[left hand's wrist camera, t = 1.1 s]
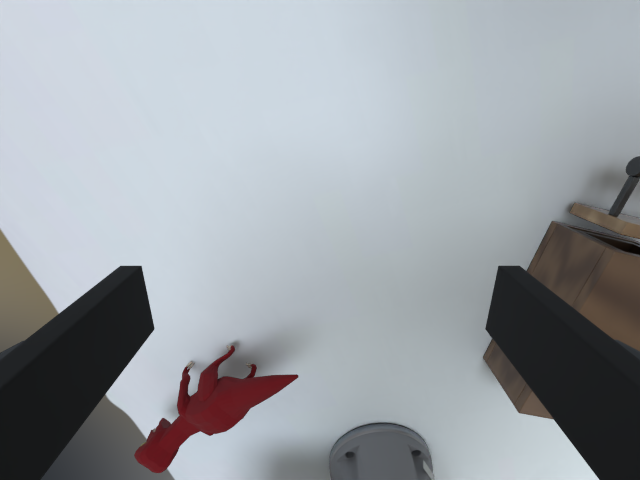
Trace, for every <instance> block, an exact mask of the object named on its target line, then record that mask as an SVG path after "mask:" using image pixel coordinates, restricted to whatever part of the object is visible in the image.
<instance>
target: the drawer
mask: <svg viewBox="0 0 640 480" xmlns="http://www.w3.org/2000/svg"><path fill="white" fill-rule="evenodd" d="M626 173H627V174H628V175H630V176H629V177H628V179H627V181H626V183H625V184H624V186H623V188H622V190H621V192H620V193H619V195H618V197H617V199H616V200H615V202H614V204H613V206H612V208H611V209H610V211H608V210H604V209H600V208H596V207H591V206H587V205H583V204H579V203H574V205H573V207H572V209H571V211H570V213H571V214H573V215H576V216H578V217H580V218H583V219H585V220H588V221H590V222H592V223H595V224H597V225H599V226H602V227H604V228H607V229H609V230H611V231H614V232H616V233H618V234H621V235H625V236H629V237H634V238H638V239H640V218H637V217H633V216H629V215H624V214H620V212H621V211H622V209H623V207H624V205H625V204H626V202H627V200H628V198H629V197H630V195H631V193H632V191H633V190H634V188H635V186H636V185H637V183H638V181H639V179H640V156H639V157H635V158H633V159H632V160H631V161H630V162H629V163H628V164H627V166H626ZM574 230H576V231H578V232H580V233H582V234H584V235H587V236H589V237H591V238H593V239H595V240H597V241H599V242H601V243H603V244H605V245H607V246H610V247H612V248H614V249H616V250H620V251H624V252H628V253H633V254H637V255H640V246H639V245H637V244H635V243H632V242H628V241H623V240H619V239H615V238H611V237H606V236H602V235H598V234H594V233H589V232H585V231H581V230H577V229H574Z"/></svg>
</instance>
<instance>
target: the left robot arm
mask: <svg viewBox="0 0 640 480" xmlns="http://www.w3.org/2000/svg"><path fill="white" fill-rule="evenodd" d="M153 330H154V324H153V319H152V315H151V310H150V305H149V300H148V295H147V291H146V286H145V281H144V276H143V271H142V266H120V267H119V268H117V269H116V270H115V271H113V272H112V273H111V274H110V275H108V276H107V277H106V278H104V279H103V280H102V281H101V282H99V283H98V284H97V285H95V286H94V287H93V288H92V289H90V290H89V291H88V292H87V293H85V294H84V295H83V296H81V297H80V298H79V299H78V300H76V301H75V302H74V303H72V304H71V305H70V306H69V307H67V308H66V309H65V310H63V311H62V312H61V313H60V314H58V315H57V316H56V317H54V318H53V319H52V320H51V321H49V322H48V323H47V324H45V325H44V326H43V327H42V328H40V329H39V330H38V331H37V332H35V333H34V334H33V335H31V336H30V337H29V338H28V339H26V340H25V341H22V342H20V343H18V344H16V345H14V346H12V347H11V348H9V349H7V350H5V351H3V352H1V353H0V480H41V478H42V477H43V476H44V474H45V473H46V472H47V470H48V469H49V468H50V466H51V465H52V464H53V462H54V461H55V460H56V458H57V457H58V456H59V454H60V453H61V452H62V450H63V449H64V448H65V447H66V445H67V444H68V443H69V441H70V440H71V439H72V437H73V436H74V435H75V433H76V432H77V431H78V429H79V428H80V427H81V425H82V424H83V423H84V421H85V420H86V419H87V417H88V416H89V415H90V413H91V412H92V411H93V410H94V408H95V407H96V406H97V404H98V403H99V402H100V400H101V399H102V398H103V396H104V395H105V394H106V392H107V391H108V390H109V388H110V387H111V386H112V384H113V383H114V382H115V380H116V379H117V378H118V377H119V375H120V374H121V373H122V371H123V370H124V369H125V367H126V366H127V365H128V363H129V362H130V361H131V359H132V358H133V357H134V355H135V354H136V353H137V351H138V350H139V349H140V347H141V346H142V345H143V343H144V342H145V341H146V340H147V338H148V337H149V336H150V334H151V333H152V332H153ZM486 330H487V332H488V333H489V334H490V336H491V337H492V338H493V340H494V341H495V342H496V343H497V345H498V346H499V347H500V349H501V350H502V351H503V353H504V354H505V355H506V357H507V358H508V359H509V361H510V362H511V363H512V365H513V366H514V367H515V369H516V370H517V371H518V373H519V374H520V375H521V377H522V378H523V379H524V380H525V382H526V383H527V384H528V386H529V387H530V388H531V390H532V391H533V392H534V394H535V395H536V396H537V398H538V399H539V400H540V402H541V403H542V404H543V406H544V407H545V408H546V410H547V411H548V412H549V414H550V415H551V416H552V417H553V419H554V420H555V421H556V423H557V424H558V425H559V427H560V428H561V429H562V431H563V432H564V433H565V435H566V436H567V437H568V439H569V440H570V441H571V443H572V444H573V445H574V447H575V448H576V449H577V450H578V452H579V453H580V454H581V456H582V457H583V458H584V460H585V461H586V462H587V464H588V465H589V466H590V468H591V469H592V470H593V472H594V473H595V474H596V476H597V477H598V478H599V480H640V351H638V350H636V349H634V348H632V347H631V346H629V345H627V344H625V343H623V342H621V341H619V340H614V339H612V338H611V337H610V336H609V335H607V334H606V333H605V332H603V331H602V330H601V329H600V328H598V327H597V326H596V325H595V324H593V323H592V322H591V321H589V320H588V319H587V318H586V317H584V316H583V315H582V314H580V313H579V312H578V311H577V310H575V309H574V308H573V307H571V306H570V305H569V304H568V303H566V302H565V301H564V300H562V299H561V298H560V297H559V296H557V295H556V294H555V293H553V292H552V291H551V290H550V289H548V288H547V287H546V286H545V285H543V284H542V283H541V282H539V281H538V280H537V279H536V278H534V277H533V276H532V275H530V274H529V273H528V272H527V271H525V270H524V269H523V268H521V267H520V266H498V271H497V276H496V281H495V286H494V291H493V295H492V300H491V305H490V310H489V315H488V319H487V324H486ZM330 474H331V480H434V474H433V467H432V460H431V456H430V453H429V450H428V447H427V445H426V443H425V441H424V440H423V439H422V438H421V437H420V436H419V435H418V434H417V433H415V432H414V431H412V430H410V429H408V428H405V427H402V426H398V425H394V424H371V425H366V426H363V427H359V428H357V429H354V430H352V431H350V432H349V433H347V434H345V435H344V436H343V437H341V438H340V439H339V440H338V441H337V443H336V444H335V445H334V447H333V449H332V451H331V454H330Z"/></svg>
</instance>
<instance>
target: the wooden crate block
mask: <svg viewBox="0 0 640 480" xmlns="http://www.w3.org/2000/svg"><path fill="white" fill-rule="evenodd" d="M574 229H577V230H581V231H585V232H589V233H594V234H598V235H602V236H606V237H611V238H615V239H619V240H623V241H628V242H632V243H635V244H637V245H639V246H640V242H638V241H635V240H631V239H627V238H623V237H619V236H614V235H610V234H606V233H602V232H597V231H593V230H589V229H585V228H580V227H576V226H572V225H568V224H563V223H559V222H555V221H552V223H551V225H550V227H549V228H548V230H547V232H546V234H545V236H544V238H543V240H542V242H541V244H540V246H539V248H538V250H537V252H536V254H535V256H534V258H533V260H532V262H531V264H530V266H529V268H528V270H527V272H528V273H529V274H530V275H532V276H533V277H534V278H536V279H537V280H538V281H539V282H541V283H542V284H543V285H545V286H546V287H547V288H548V289H550V290H551V291H552V292H553V293H555V294H556V295H557V296H559V297H560V298H561V299H562V300H564V301H565V302H566V303H568V304H569V305H570V306H571V307H573V308H574V309H575V310H577V311H578V312H579V313H580V314H582V315H583V316H584V317H586V318H587V319H588V320H589V321H591V322H592V323H593V324H595V325H596V326H597V327H598V328H600V329H601V330H602V331H603V332H605V333H606V334H607V335H609V336H610V337H611V338H612V339H614V340H619V341H621V342H623V343H625V344H627V345H629V346H631V347H632V348H634V349H636V350H638V351H640V255H637V254H633V253H628V252H624V251H620V250H616V249H614V248H612V247H610V246H607V245H605V244H603V243H601V242H599V241H597V240H595V239H593V238H591V237H589V236H587V235H584V234H582V233H580V232H578V231H576V230H574ZM483 359H484V360H485V362H486V363H487V365H488V366H489V368H490V369H491V371H492V372H493V374H494V375H495V377H496V379H497V380H498V382H499V383H500V385H501V386H502V388H503V389H504V391H505V392H506V394H507V395H508V397H509V398H510V400H511V402H512V403H513V405H514V406H515V408H516V409H517V411H518V412H519V413H522V414H528V415H533V416H538V417H544V418H549V419H553V417H552V416H551V415H550V414H549V412H548V411H547V410H546V408H545V407H544V406H543V404H542V403H541V402H540V400H539V399H538V398H537V396H536V395H535V394H534V392H533V391H532V390H531V388H530V387H529V386H528V384H527V383H526V382H525V380H524V379H523V378H522V377H521V375H520V374H519V373H518V371H517V370H516V369H515V367H514V366H513V365H512V363H511V362H510V361H509V359H508V358H507V357H506V355H505V354H504V353H503V351H502V350H501V349H500V347H499V346H498V345H497V343H496V342H495V341H494V340H493V339H492V341H491V343H490V345H489V347H488V349H487V351H486V353H485V355H484V357H483Z"/></svg>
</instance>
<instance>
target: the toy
mask: <svg viewBox="0 0 640 480" xmlns="http://www.w3.org/2000/svg"><path fill="white" fill-rule="evenodd" d="M227 348H228V350H229V352H228V353H227V354H226V355H224V356H222V357H221V358H219V359H217V360H216V361H214V362H213V363H212V364H211V365H209V366H208V367H207V368H206V369H205V370H204V371H203V372H202V373H201V375H200V380H199V384H198V391H197V392H196V393H195V394H194V395H192V396H189V395H188V385H189V382H190V376H189V374H188V372H189V370H190V368H191V367H192V366H193V365H194V363H193V364H192V362H190V363H189V364H188V365H187V366H186V367H185V369H184V371H183V373H182V380H181V382H180V390H179V396H178V402H177V408H178V413H179V415H180V416H179V417H178V418H177V419H176V420H175V421H174V422H173V423H172V424H171V423H170V422H169V421H167V420H166V419H165V418H162V419H161V421H160V422H159V425H158V426H157V427H156V428H155V429H153V430H151V432H150V434H149V436H148V438H147V441H146V442H145V443H143V444H142V445H141V446H140V447H139V448H138V450H137V451H136V453H135V455H134V456H135V458H136V460H137V461H138V462H139V463H140V464H142V465H143V466H145V467H146V468H148V469H149V470H151V471H152V472H155V473H161V472H163V471H164V470H166V469H167V468H168V466H169V465H170V464H171V462H172V460H173V459H174V457H175V456H176V454H177V452H178V449H179V446H180V445H181V444H182V443H183V442H184V441H185V440H187V439H188V438H189V437H190V436H191V435H193V434H195V433H197V432H199V431H201V432H203V433H205V434H207V435H209V436H211V435H213V434H217V433H221V432H225V431H227V430H229V429H230V428H232V427H233V426H234V425H236V424H237V423H238V422H239V421H240V420H241V419H243V417H244V416H245V415H246V413H247V412H248V411H249V409H250V408H252V407H254V406H255V405H257V404H259V403H261V402H263V401H264V400H266V399H268V398H269V397H271V396H273V395H274V394H276V393H277V392H279V391H280V390H282V389H283V388H284V387H286V386H287V385H289V384H290V383H291V382H293V381H294V380H295V379H297V378H298V375H271V376H262V377H254V376H255V372H256V369H257V367H256V365H254V364H247V363H246V365H247V366H248V367H249V368H251V369H252V370H251V373H250V374H249V375H248V376H247V377H246V378H244V379H239V378H233V377H228V376H224V377H221V378H219V379H218V367H219V365H220V364H221V363H222V362H223V361H224V360H226V359H227V358H229V357H230V356H231V355H232V353H233V352H234V351H235V348H234V346H233V345H231V346H228V345H227ZM191 364H192V365H191ZM190 365H191V366H190ZM189 366H190V367H189ZM188 367H189V368H188ZM187 368H188V370H187Z"/></svg>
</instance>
